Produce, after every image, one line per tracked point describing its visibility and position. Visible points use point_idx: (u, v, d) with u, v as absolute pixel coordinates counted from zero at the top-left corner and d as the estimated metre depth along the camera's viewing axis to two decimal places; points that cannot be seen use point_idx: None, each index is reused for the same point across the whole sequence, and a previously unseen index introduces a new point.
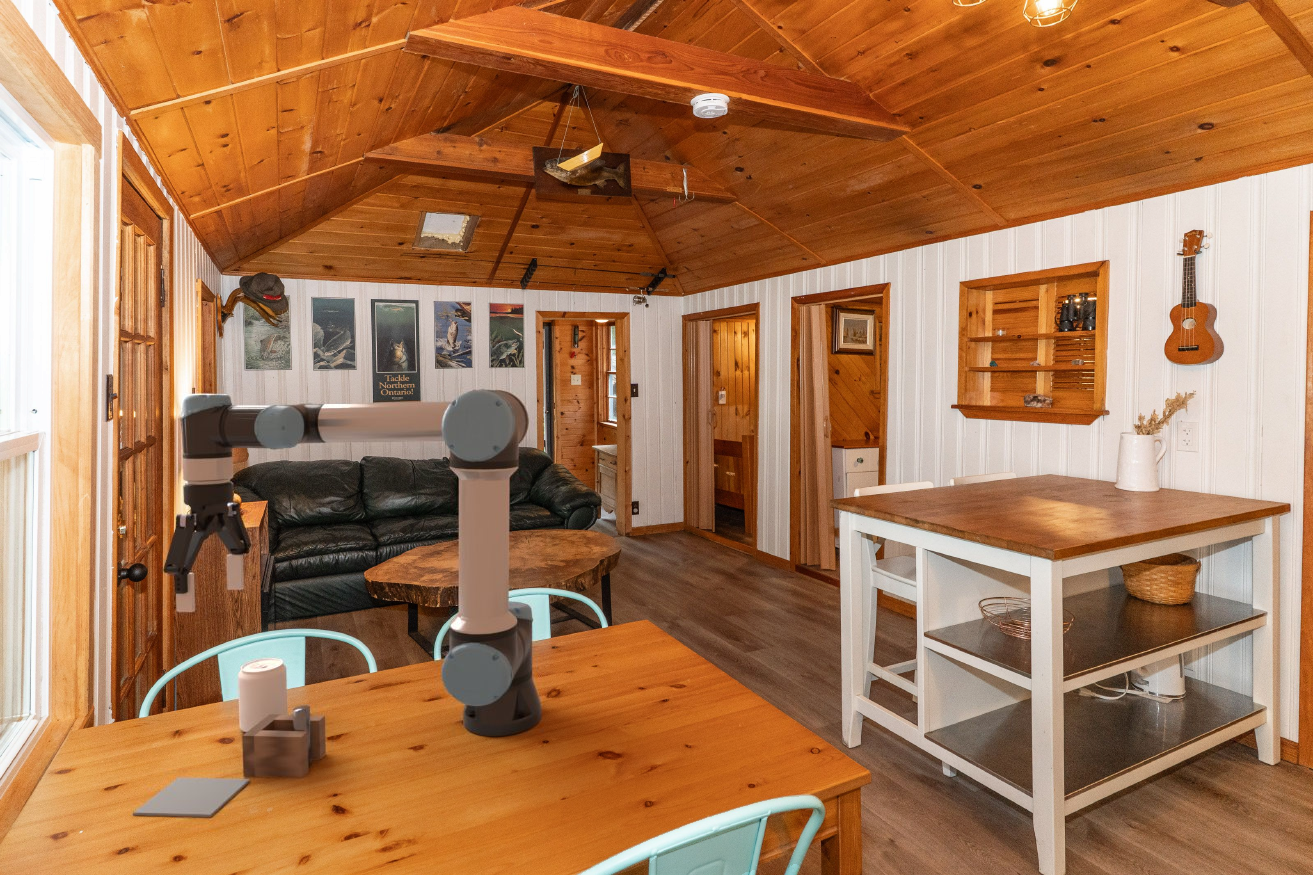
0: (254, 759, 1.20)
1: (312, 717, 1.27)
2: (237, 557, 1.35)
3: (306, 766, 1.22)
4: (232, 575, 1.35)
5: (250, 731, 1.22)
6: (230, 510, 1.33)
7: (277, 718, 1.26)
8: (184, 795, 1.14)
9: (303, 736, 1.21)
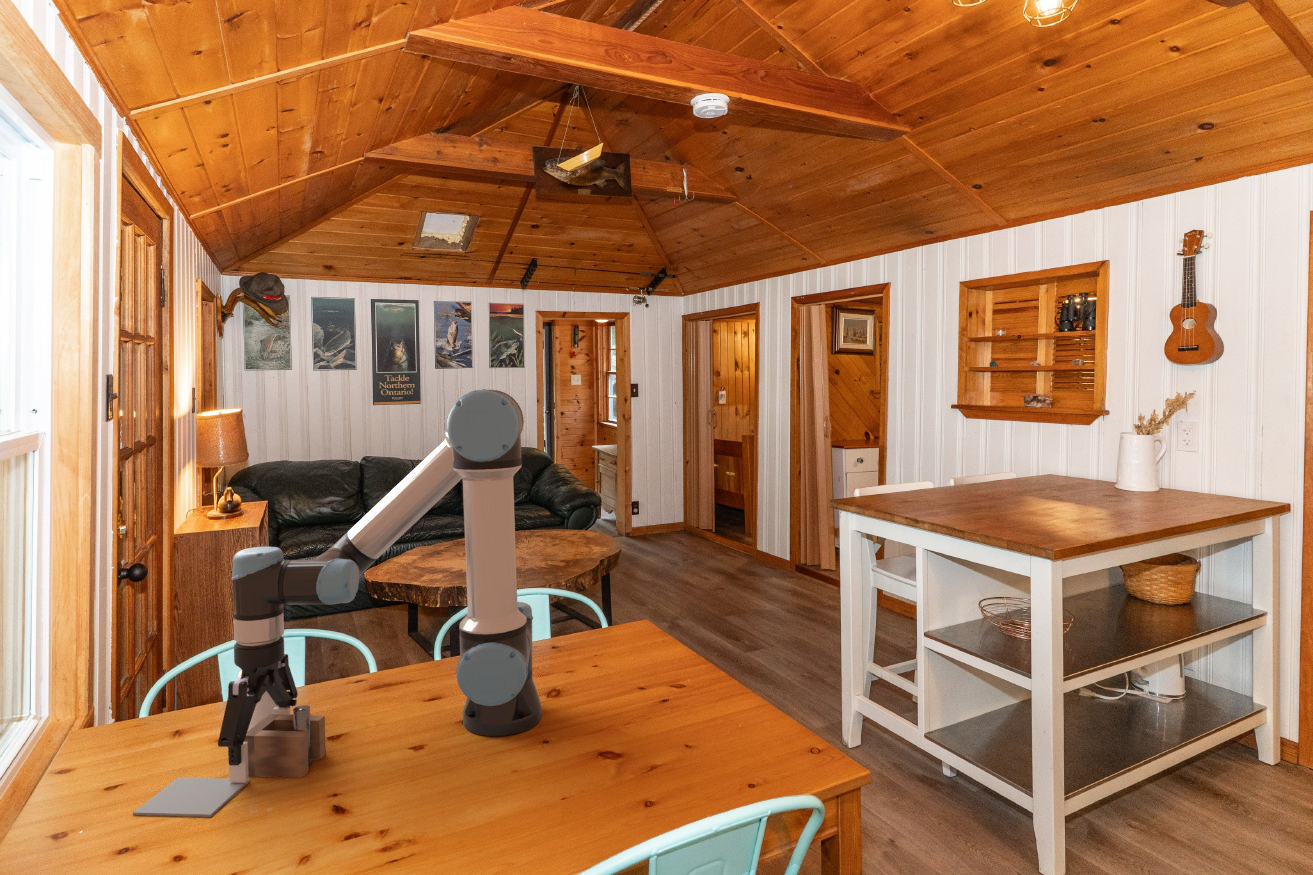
0: (254, 759, 1.20)
1: (312, 717, 1.27)
2: (285, 710, 1.30)
3: (306, 766, 1.22)
4: None
5: (250, 731, 1.22)
6: (279, 662, 1.29)
7: (277, 718, 1.26)
8: (184, 795, 1.14)
9: (303, 736, 1.21)
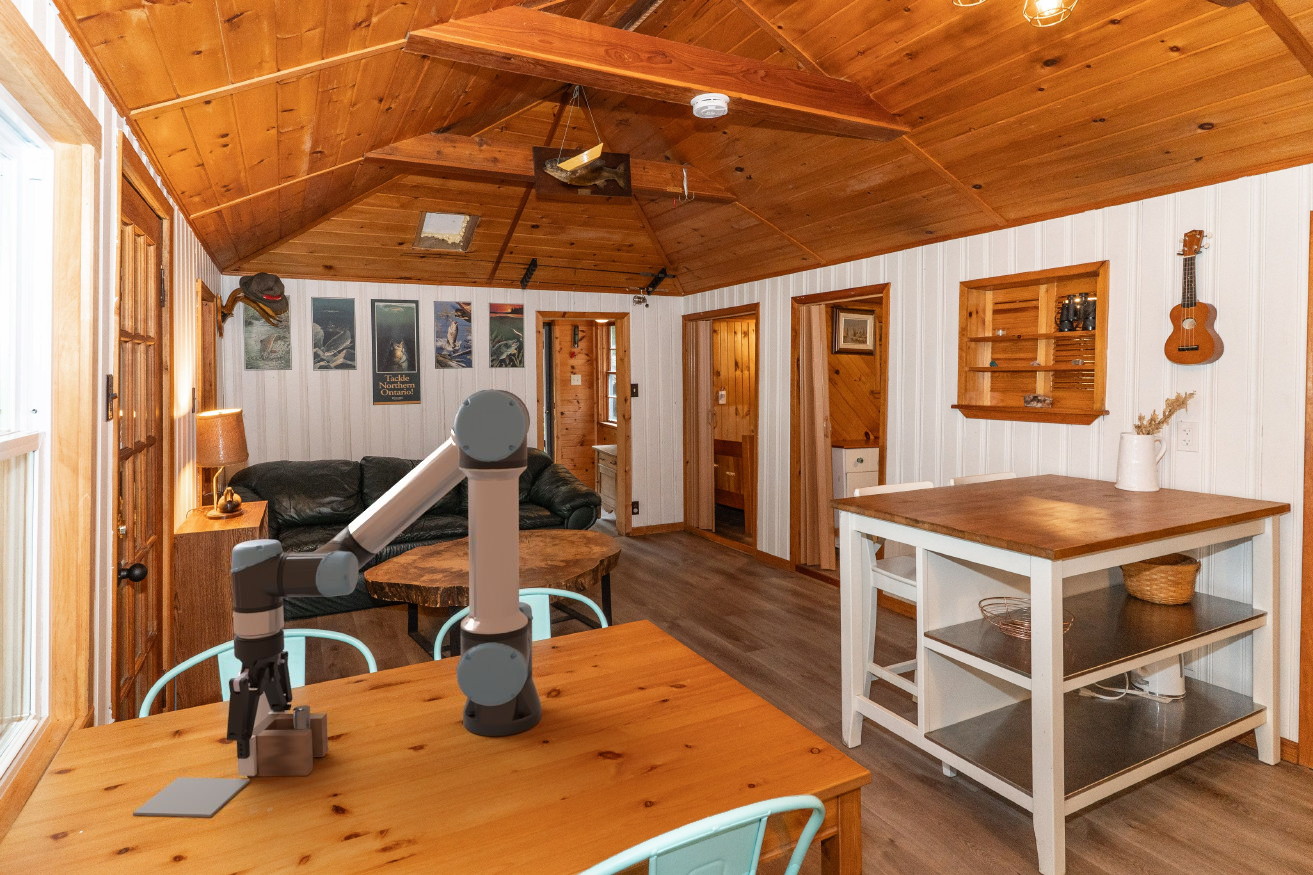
0: (258, 759, 1.20)
1: (314, 715, 1.27)
2: None
3: (311, 764, 1.22)
4: None
5: None
6: (279, 658, 1.28)
7: (278, 717, 1.26)
8: (184, 795, 1.14)
9: (308, 734, 1.21)
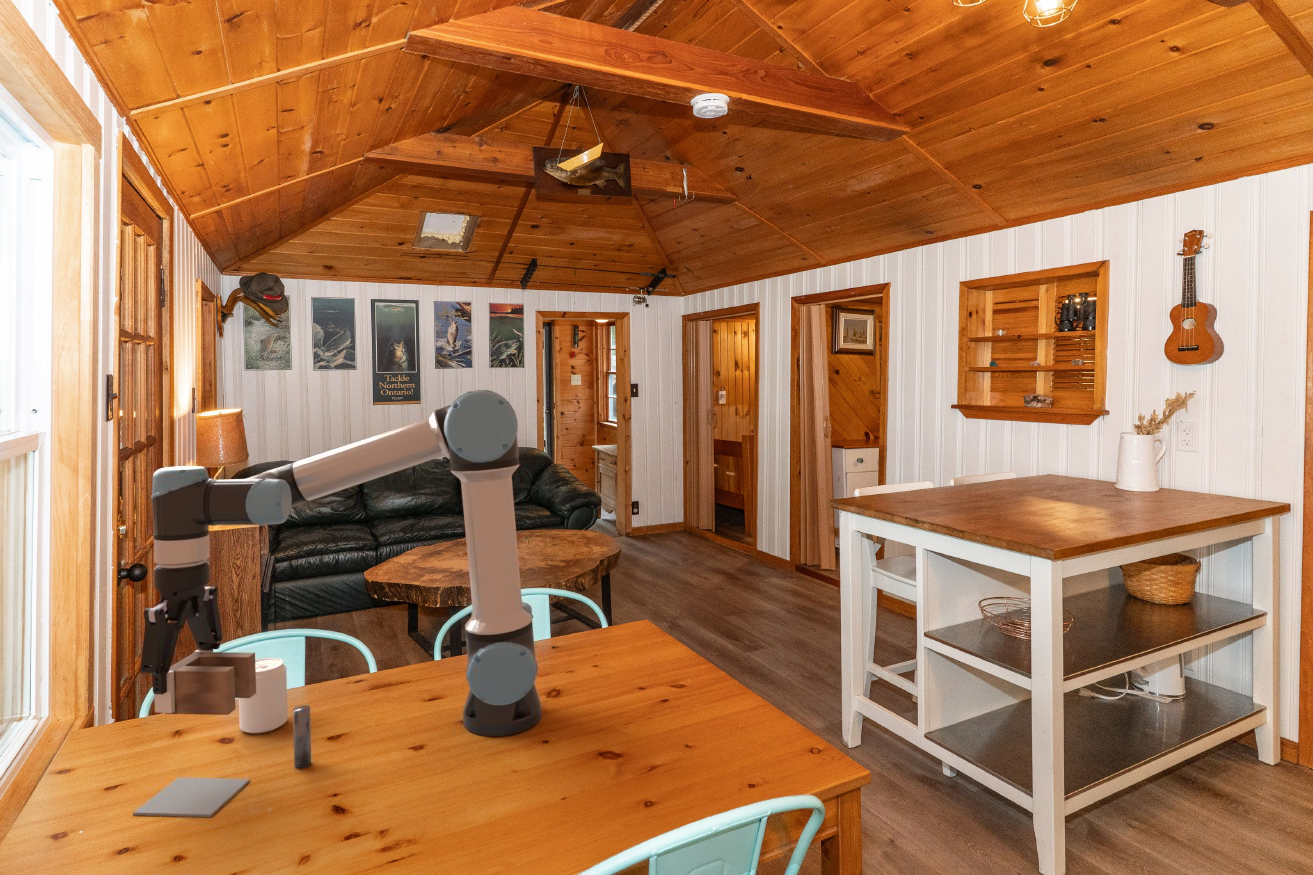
0: (177, 695, 1.14)
1: (241, 654, 1.20)
2: None
3: (233, 703, 1.15)
4: None
5: (172, 667, 1.15)
6: (207, 594, 1.22)
7: (204, 655, 1.20)
8: (184, 795, 1.14)
9: (229, 671, 1.14)
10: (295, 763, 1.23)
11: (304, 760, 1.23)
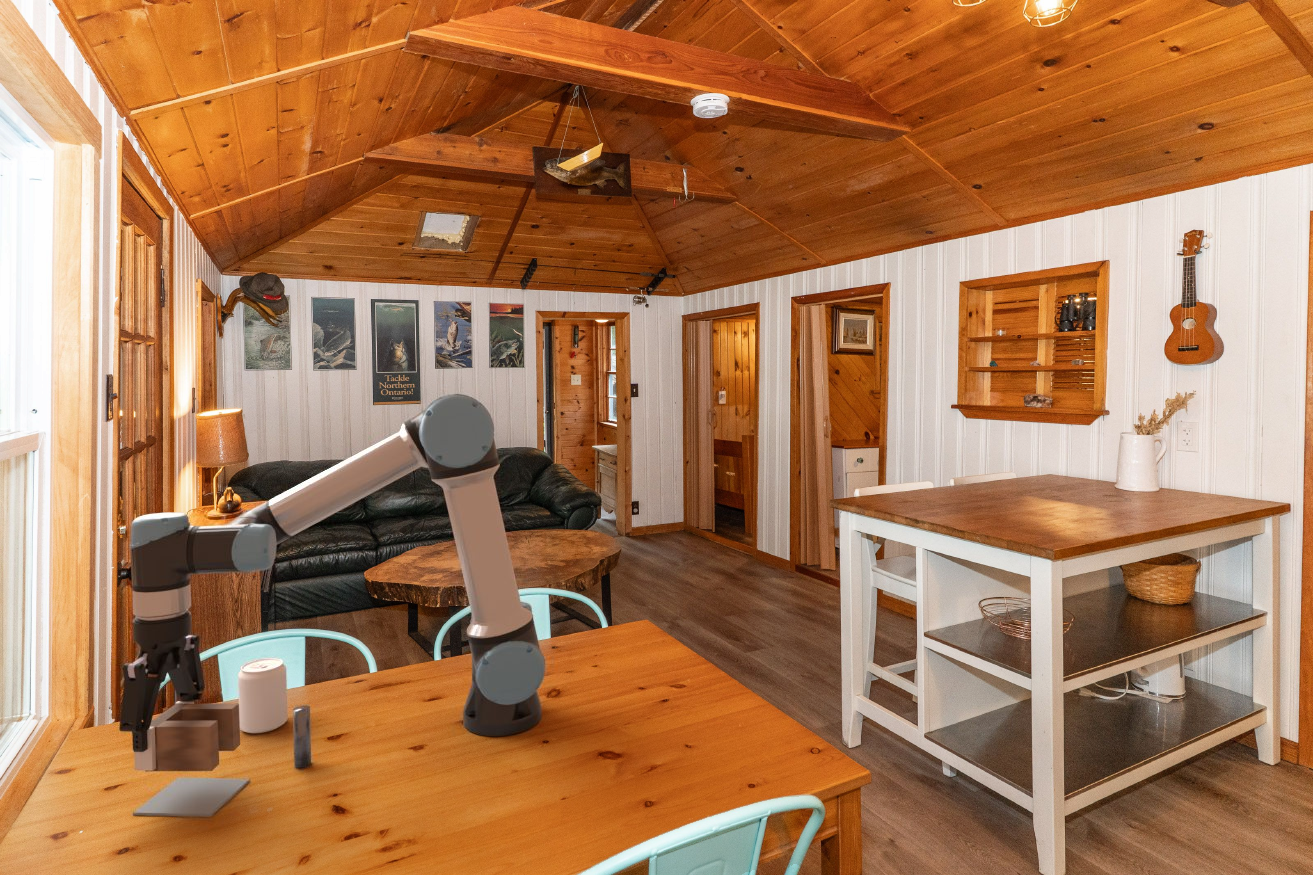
0: (157, 752, 1.10)
1: (224, 705, 1.17)
2: None
3: (216, 758, 1.11)
4: None
5: (152, 722, 1.11)
6: (188, 643, 1.18)
7: (185, 707, 1.16)
8: (184, 795, 1.14)
9: (212, 726, 1.10)
10: (295, 763, 1.23)
11: (304, 760, 1.23)
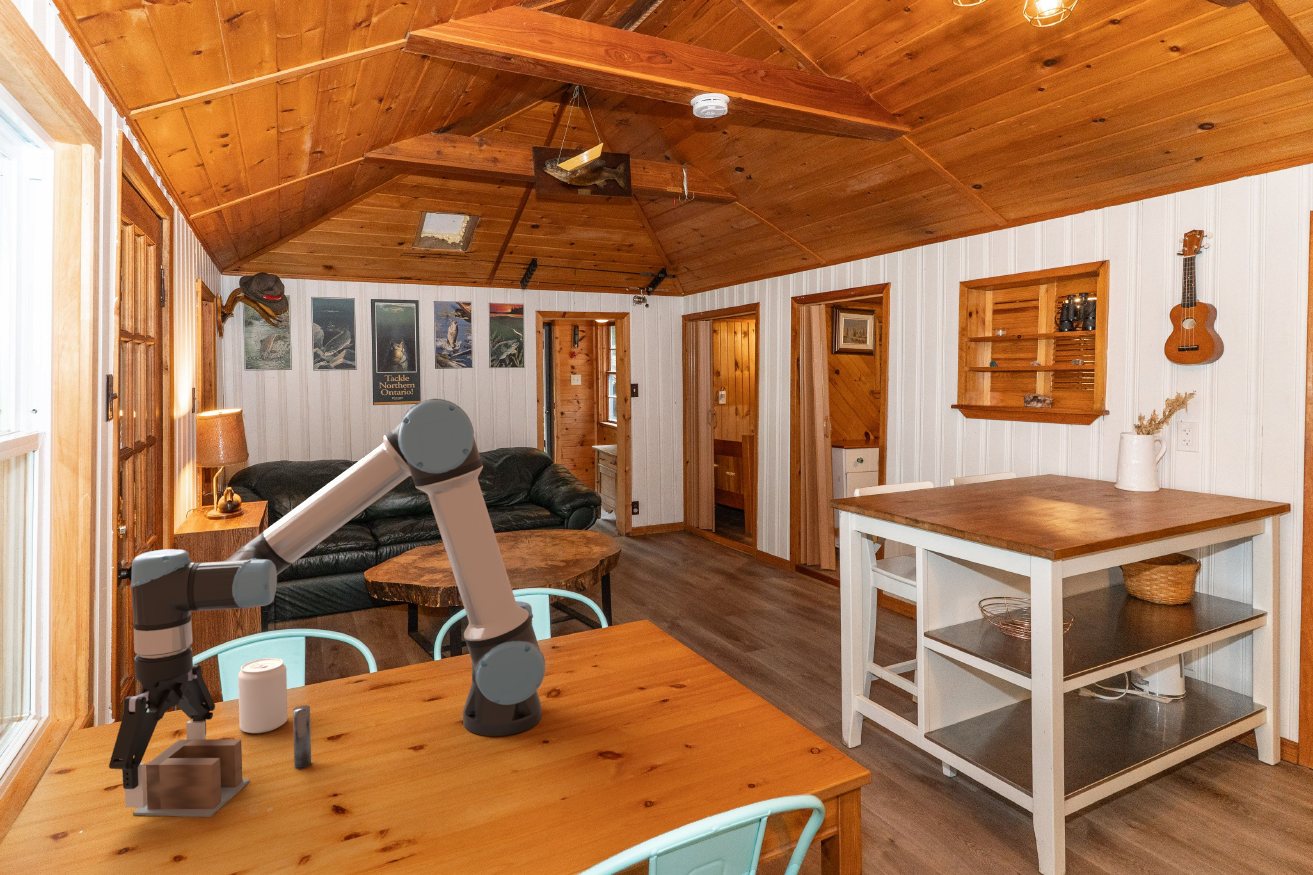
0: (160, 790, 1.10)
1: (227, 741, 1.17)
2: (199, 725, 1.20)
3: (219, 796, 1.12)
4: None
5: (155, 759, 1.11)
6: (190, 674, 1.18)
7: (188, 744, 1.16)
8: None
9: (215, 763, 1.11)
10: (295, 763, 1.23)
11: (304, 760, 1.23)
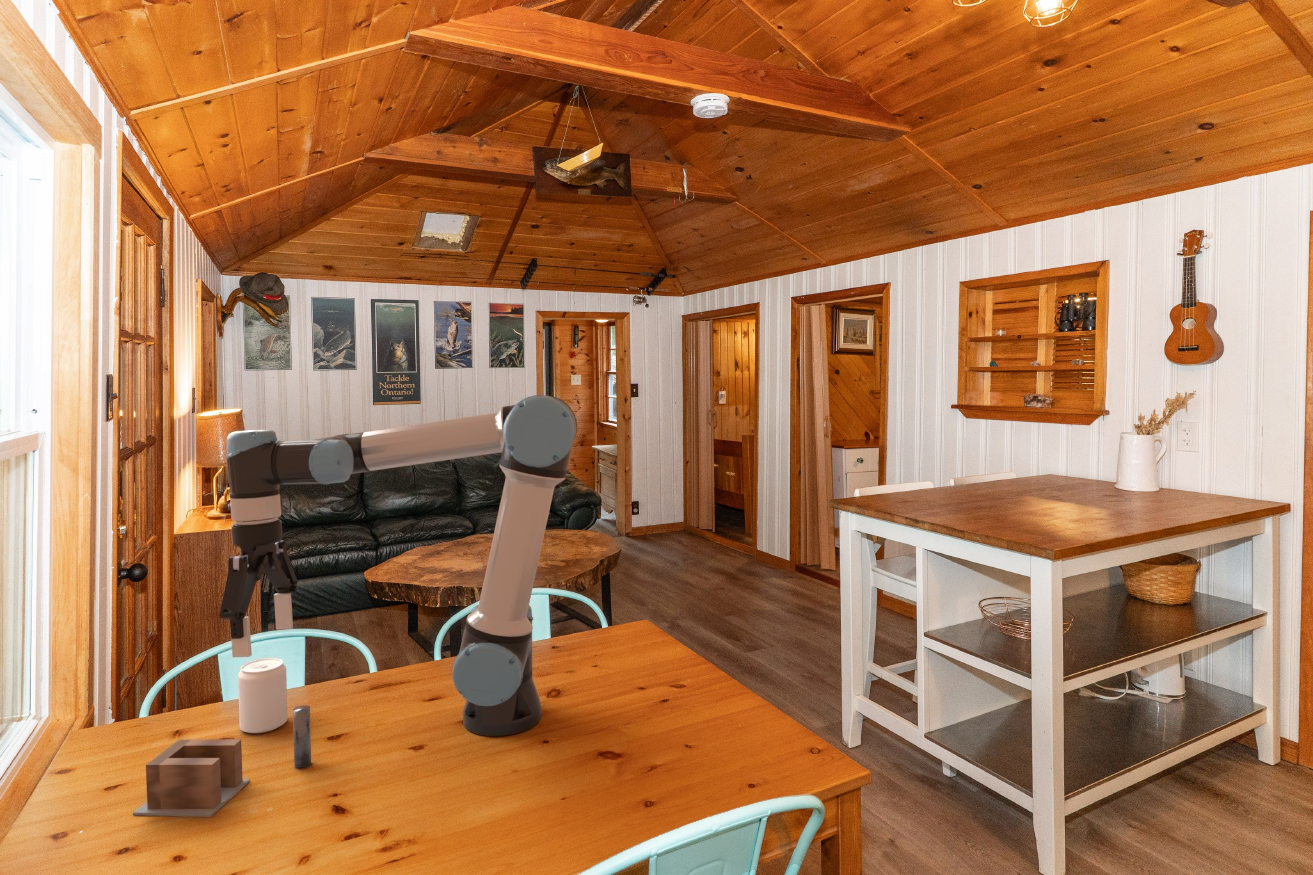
0: (160, 790, 1.10)
1: (227, 741, 1.17)
2: (285, 596, 1.31)
3: (219, 796, 1.12)
4: (280, 615, 1.31)
5: (155, 759, 1.11)
6: (277, 548, 1.29)
7: (188, 744, 1.16)
8: None
9: (215, 763, 1.11)
10: (295, 763, 1.23)
11: (304, 760, 1.23)
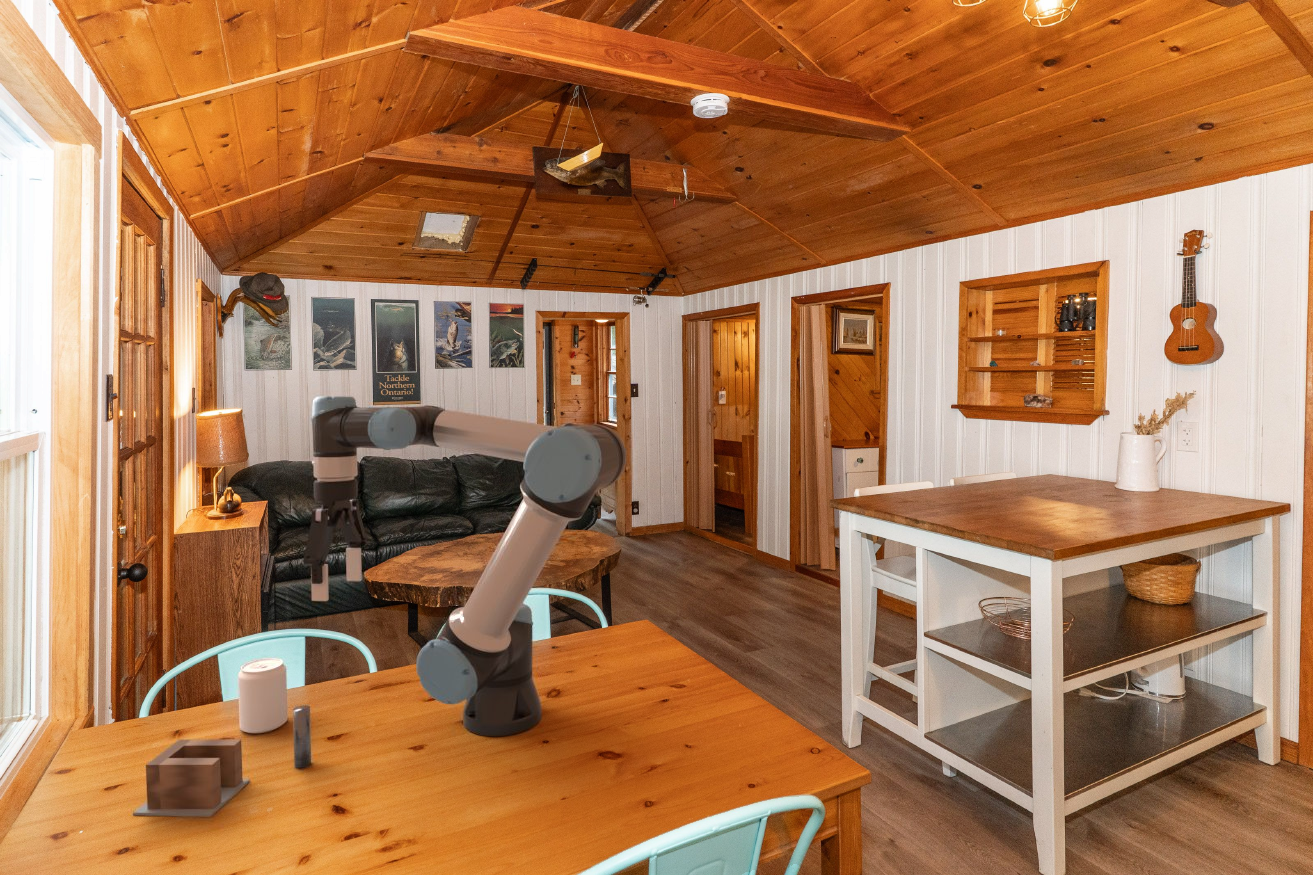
0: (160, 790, 1.10)
1: (227, 741, 1.17)
2: (356, 550, 1.43)
3: (219, 796, 1.12)
4: (351, 567, 1.43)
5: (155, 759, 1.11)
6: (351, 506, 1.41)
7: (188, 744, 1.16)
8: None
9: (215, 763, 1.11)
10: (295, 763, 1.23)
11: (304, 760, 1.23)
